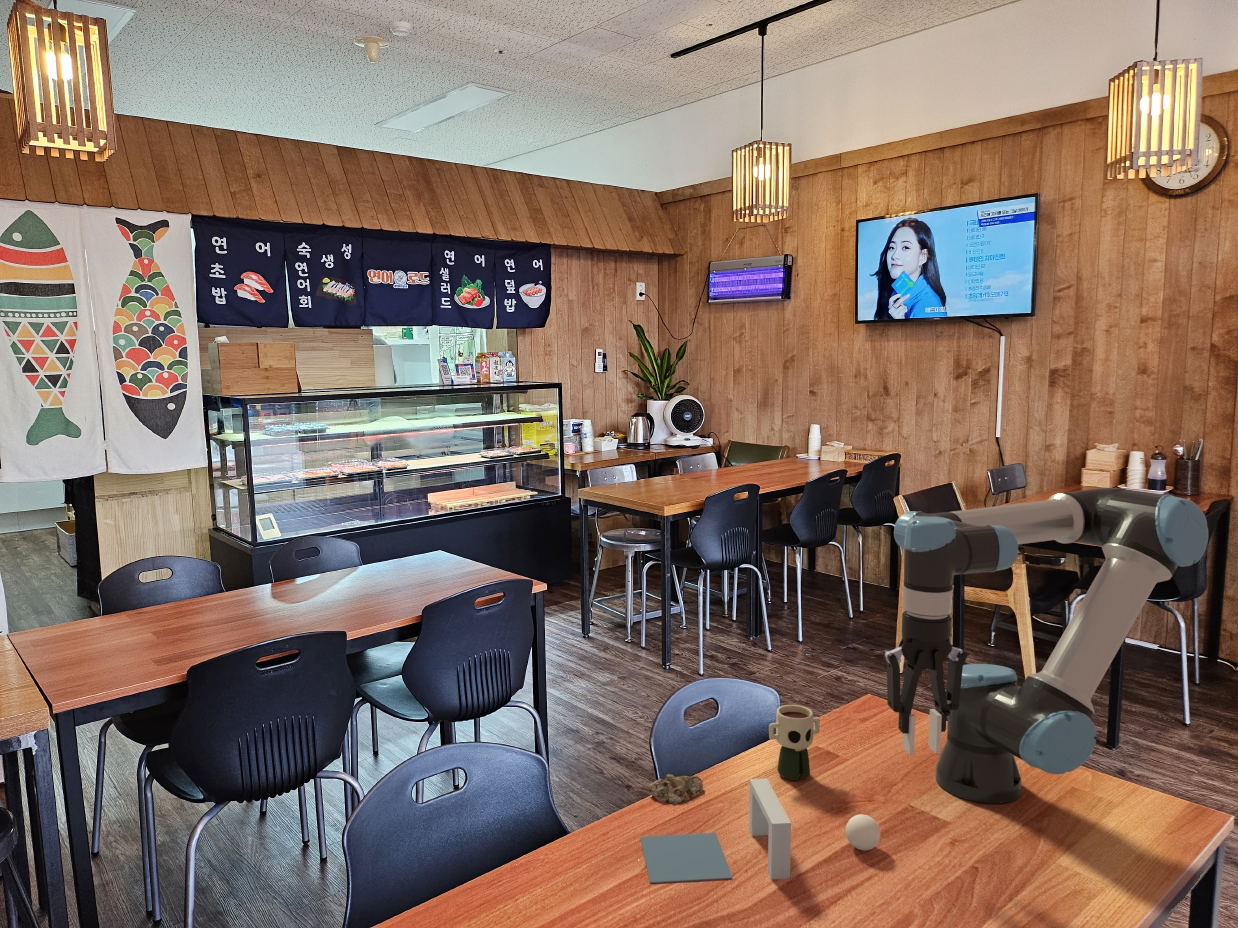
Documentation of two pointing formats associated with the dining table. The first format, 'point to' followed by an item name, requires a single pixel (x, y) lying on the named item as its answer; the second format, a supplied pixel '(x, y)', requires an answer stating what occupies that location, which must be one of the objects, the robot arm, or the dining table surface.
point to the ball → (863, 832)
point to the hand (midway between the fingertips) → (921, 749)
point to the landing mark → (684, 858)
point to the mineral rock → (676, 788)
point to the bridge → (770, 826)
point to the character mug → (794, 739)
